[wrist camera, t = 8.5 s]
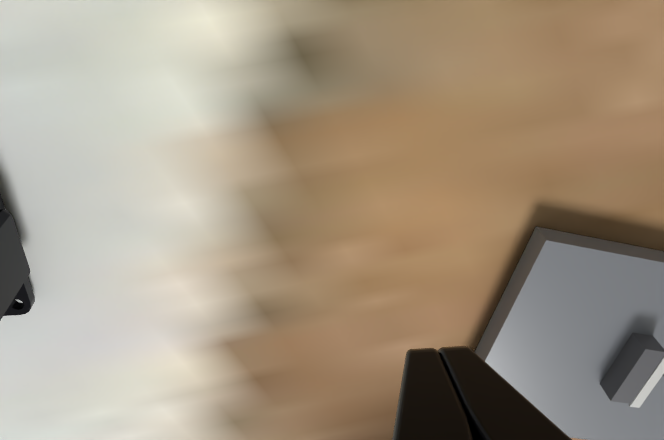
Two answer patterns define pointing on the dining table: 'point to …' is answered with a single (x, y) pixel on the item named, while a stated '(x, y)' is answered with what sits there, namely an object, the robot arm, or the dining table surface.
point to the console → (584, 335)
